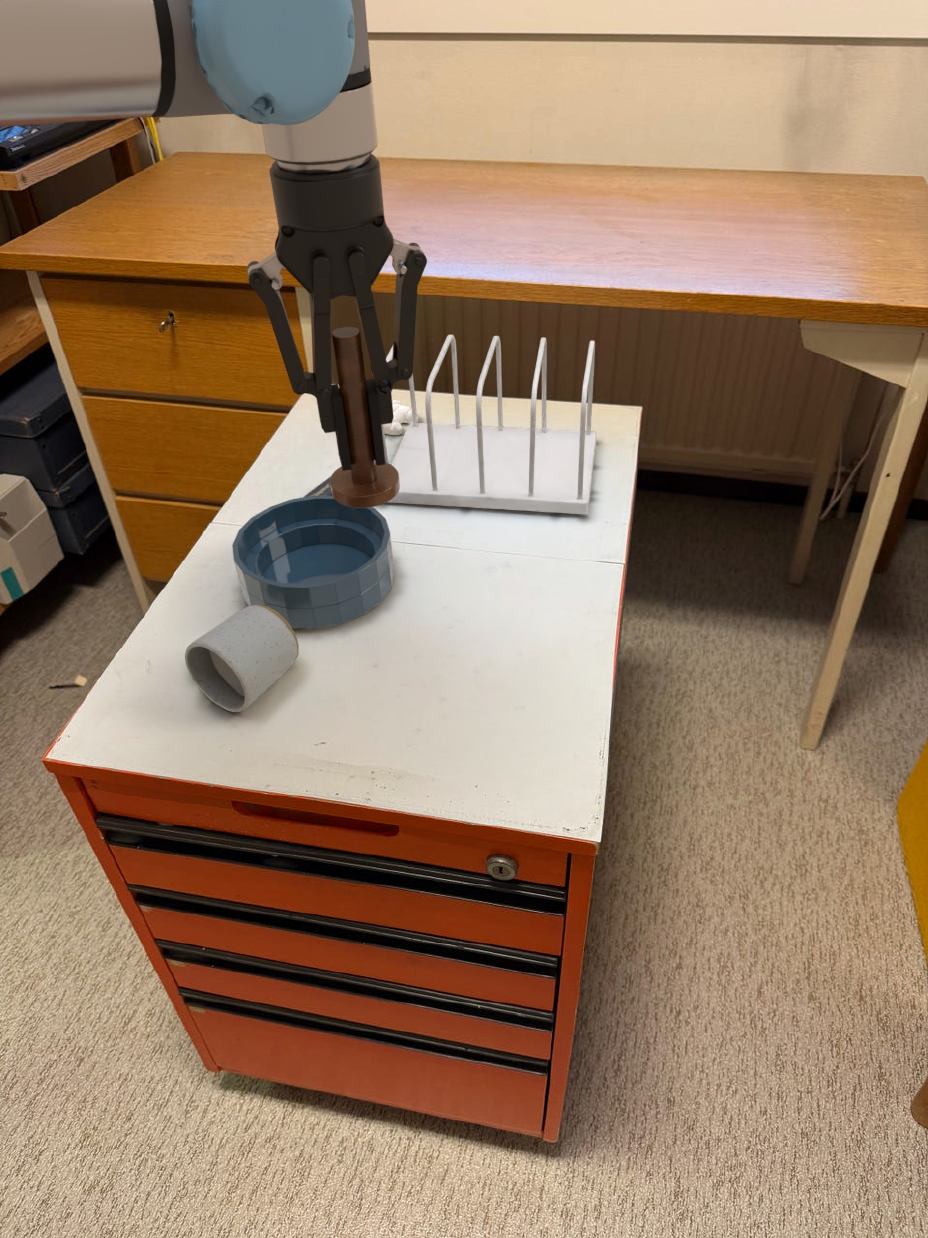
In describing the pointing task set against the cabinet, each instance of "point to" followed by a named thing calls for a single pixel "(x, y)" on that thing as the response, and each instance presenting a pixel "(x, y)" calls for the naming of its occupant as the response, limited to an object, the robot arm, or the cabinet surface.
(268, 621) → the ceramic mug
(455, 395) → the file sorter
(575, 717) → the cabinet surface
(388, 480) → the wooden post on disc
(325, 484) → the usb stick
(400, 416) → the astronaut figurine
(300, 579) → the bowl
